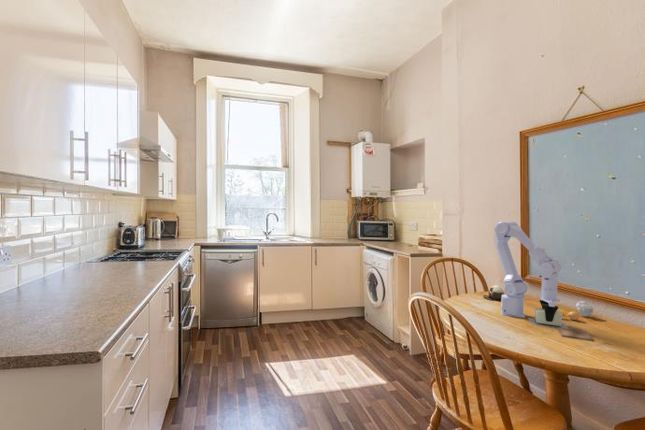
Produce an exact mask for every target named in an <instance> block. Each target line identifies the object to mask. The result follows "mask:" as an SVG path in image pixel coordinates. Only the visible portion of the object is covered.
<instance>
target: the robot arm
mask: <svg viewBox="0 0 645 430" xmlns="http://www.w3.org/2000/svg"><path fill="white" fill-rule="evenodd" d="M493 230H494V237H493V238H494V239H493V241H494V245H495V248H496V251H497V255H498V258H499V261H500V264H501V267H502V270H503V272H504V279H503V281H502V282H503V291H504V295H502V298H501V301H500V302H501V303H500V312H501V315H502V316H506V317H507V316H508V317H515V318H516V317H517V318H522V319H525V318H526V316H525V313H524V311H525V310H524V309H525V307H524V306H525V294H526V293H527V292H528V285H527V284H526V283H525V282H524V280H523V279H524V278H523V277H521V275H519V274H518V270H517V267H516V264H515V261H514V258H513V255H512V253H511V250H510V249H511V248H510V246H509V243H508V242H509V241H510V239H511V238H515V239H517V240H518V241H519V242H520V244H521V245H523V246H524V248H526V249H527V250H528V255H529V256H530V257H531V259H532V260H534V262H535V263H536V264H537V265H538V268H539V270H540V272H541V286H540V287H541V290H540V292H541V293H540V300H539V301H538V302H539V303H540V306H541V309H544V310H545V317H546V321H549V322H552V321H553V318H554V315H555V313H556V311H558V309H559V306H557V305H556V303H557V302H561V299H559V298H558V283H559V281H558V280H559V277H558V276H559V272H560V271H561V264H560V263H559V261H558V260H555V259H553V257H552V256H550V255H549V254H548V253H547V252H546V251H545V248H544V247H541V246H537V245H535V244H534V242H533V241H532V240H531V239H530V238H529V236H528V235H527V234H526V233H525V232H524V231H523V230H522V227H521V226H520V225H518V223H517V222H515V221H498V222H497V223H496V225H495V226H494V228H493Z"/></svg>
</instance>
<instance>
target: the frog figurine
mask: <svg viewBox="0 0 645 430" xmlns="http://www.w3.org/2000/svg"><path fill="white" fill-rule="evenodd" d="M575 306H576V307H575V308H576V309H577V311H578V312H577V313H578V314H579V316H581V317H583V318H589V317H590V316H592V313H594V308H593V307H592V306H591V305H590V304H588V303H587V302H586V301H583V300H582V301H581V300H580V301H578V302H576V303H575Z"/></svg>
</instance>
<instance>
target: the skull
mask: <svg viewBox="0 0 645 430" xmlns="http://www.w3.org/2000/svg"><path fill="white" fill-rule="evenodd" d="M502 295H505V291H504V289H503V288H502V287H500V286H499V285H492V286H490V288H489V290H488V293H487V294H485V295H483V299H486V300H488V301H490V302H491V301H492V302H501V298H502Z"/></svg>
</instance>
